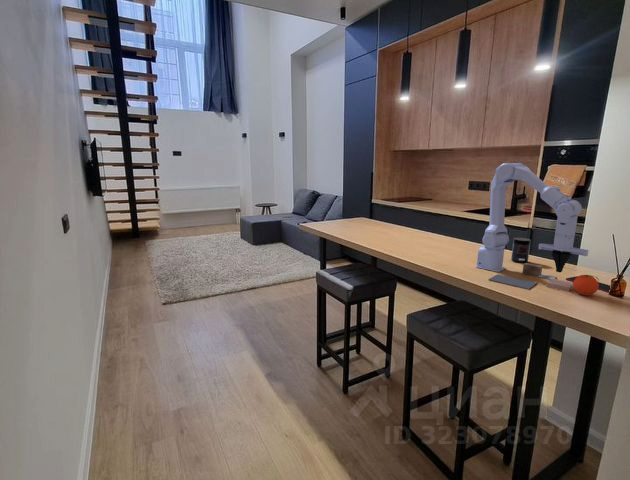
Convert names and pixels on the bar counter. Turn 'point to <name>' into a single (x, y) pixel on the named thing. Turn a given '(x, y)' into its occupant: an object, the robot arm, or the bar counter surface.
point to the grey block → (535, 271)
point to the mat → (513, 281)
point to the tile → (560, 284)
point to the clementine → (586, 284)
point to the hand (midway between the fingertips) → (559, 271)
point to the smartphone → (601, 286)
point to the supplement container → (520, 250)
